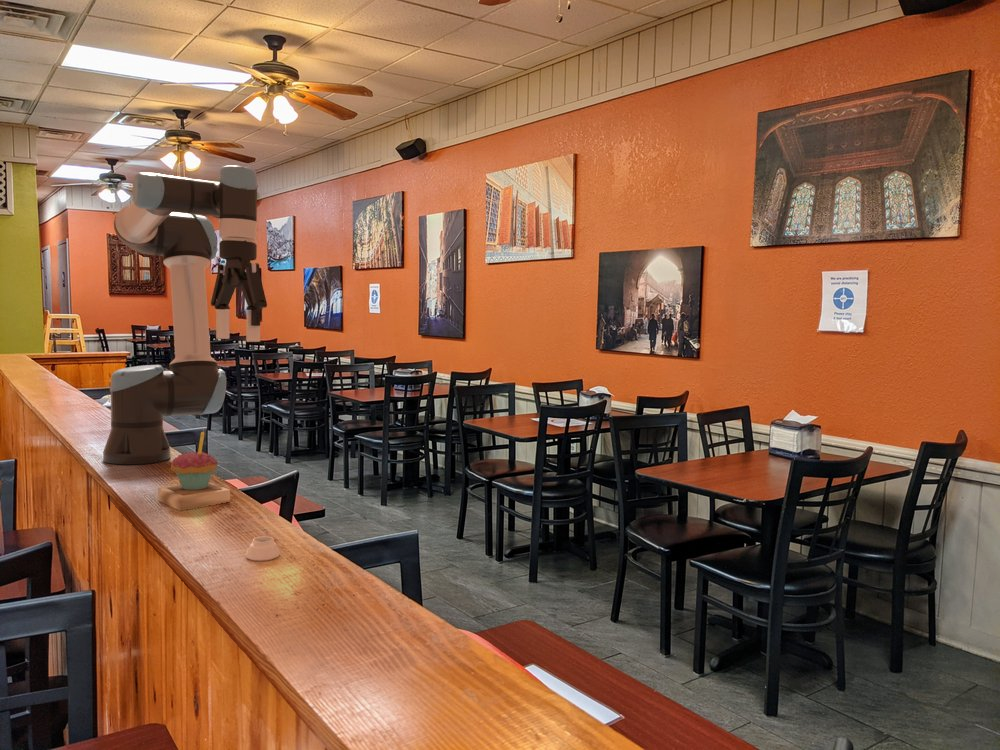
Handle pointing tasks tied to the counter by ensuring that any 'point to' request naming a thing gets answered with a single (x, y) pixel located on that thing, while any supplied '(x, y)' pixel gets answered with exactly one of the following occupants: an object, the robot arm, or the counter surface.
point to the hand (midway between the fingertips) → (237, 340)
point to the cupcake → (194, 468)
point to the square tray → (193, 496)
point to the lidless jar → (262, 549)
